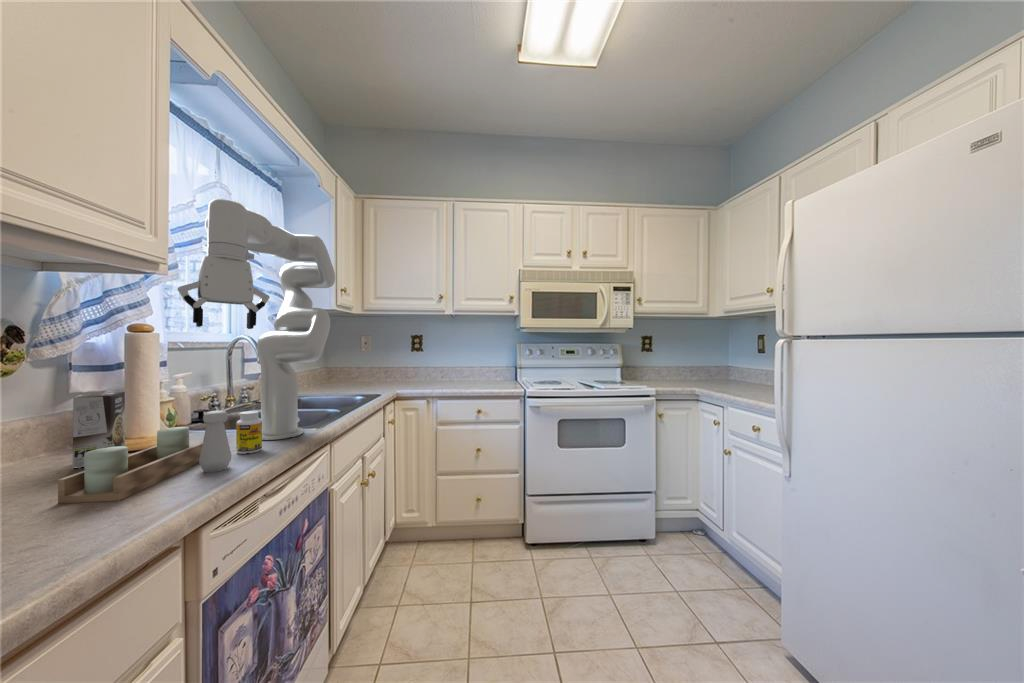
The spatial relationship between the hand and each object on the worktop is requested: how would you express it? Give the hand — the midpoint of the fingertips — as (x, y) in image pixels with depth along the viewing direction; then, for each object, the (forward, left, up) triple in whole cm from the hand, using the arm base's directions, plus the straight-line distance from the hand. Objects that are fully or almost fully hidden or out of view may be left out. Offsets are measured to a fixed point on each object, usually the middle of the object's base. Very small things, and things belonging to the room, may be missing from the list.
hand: (225, 327), depth 89 cm
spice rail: (+8, -12, -32) cm, 35 cm away
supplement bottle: (-10, 0, -32) cm, 34 cm away
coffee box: (-5, -30, -32) cm, 44 cm away
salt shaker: (+4, 0, -32) cm, 32 cm away
